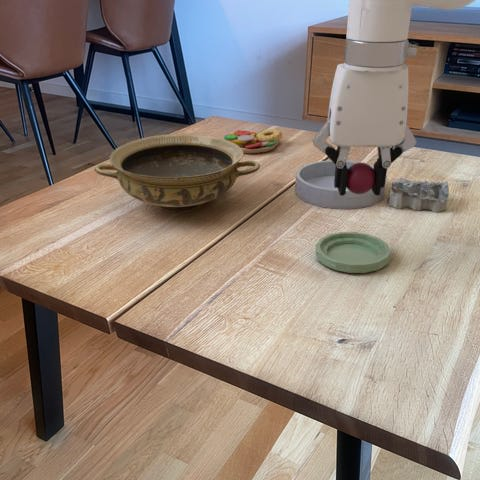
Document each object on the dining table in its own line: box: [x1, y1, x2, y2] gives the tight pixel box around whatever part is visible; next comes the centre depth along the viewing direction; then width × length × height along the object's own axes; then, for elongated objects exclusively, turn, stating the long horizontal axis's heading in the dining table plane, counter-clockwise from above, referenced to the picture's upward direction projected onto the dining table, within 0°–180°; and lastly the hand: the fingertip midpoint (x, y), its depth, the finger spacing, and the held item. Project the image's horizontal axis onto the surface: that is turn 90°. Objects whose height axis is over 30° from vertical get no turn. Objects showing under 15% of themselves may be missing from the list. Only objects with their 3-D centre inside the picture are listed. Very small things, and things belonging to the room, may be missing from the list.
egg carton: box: [388, 178, 450, 213], centre depth 103 cm, size 11×8×4 cm
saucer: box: [315, 231, 392, 274], centre depth 86 cm, size 11×11×2 cm
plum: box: [346, 162, 376, 194], centre depth 80 cm, size 4×4×4 cm
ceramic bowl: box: [94, 133, 261, 213], centre depth 103 cm, size 30×24×10 cm
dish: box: [294, 159, 388, 210], centre depth 109 cm, size 17×18×4 cm
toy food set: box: [223, 128, 283, 154], centre depth 134 cm, size 13×13×3 cm
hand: (358, 190), depth 81 cm, fingers closed on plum, 4 cm apart
